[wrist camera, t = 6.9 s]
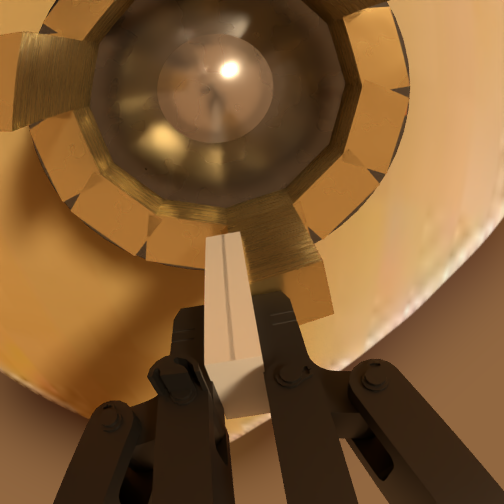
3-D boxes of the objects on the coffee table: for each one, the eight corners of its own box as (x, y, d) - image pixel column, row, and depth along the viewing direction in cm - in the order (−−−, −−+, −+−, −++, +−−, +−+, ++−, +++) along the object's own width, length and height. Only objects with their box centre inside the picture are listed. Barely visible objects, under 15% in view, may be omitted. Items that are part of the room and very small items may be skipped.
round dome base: (131, 283, 18) (104, 374, 12) (14, 23, 9) (-73, 18, 4) (406, 194, 17) (479, 255, 11) (328, -88, 8) (385, -148, 2)
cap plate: (29, 213, 17) (-19, 261, 12) (107, -89, 8) (72, -132, 3) (316, 281, 22) (343, 343, 17) (429, 9, 13) (495, 2, 8)
